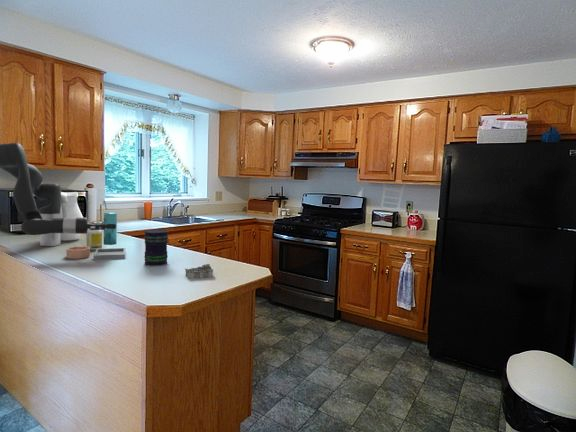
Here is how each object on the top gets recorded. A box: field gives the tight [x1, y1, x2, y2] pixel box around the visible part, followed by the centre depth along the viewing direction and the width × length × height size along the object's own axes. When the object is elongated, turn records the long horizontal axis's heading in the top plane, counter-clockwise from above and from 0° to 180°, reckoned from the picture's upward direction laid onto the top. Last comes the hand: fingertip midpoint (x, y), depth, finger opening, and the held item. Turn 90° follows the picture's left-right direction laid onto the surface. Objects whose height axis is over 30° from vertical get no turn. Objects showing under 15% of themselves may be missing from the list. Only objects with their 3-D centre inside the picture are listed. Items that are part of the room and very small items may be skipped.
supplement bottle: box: [86, 229, 103, 251], centre depth 181 cm, size 7×7×13 cm
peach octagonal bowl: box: [65, 245, 91, 260], centre depth 163 cm, size 9×9×4 cm
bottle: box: [103, 212, 118, 246], centre depth 166 cm, size 6×6×15 cm
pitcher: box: [60, 191, 84, 242], centre depth 200 cm, size 24×17×28 cm
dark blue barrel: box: [143, 229, 169, 267], centre depth 156 cm, size 10×10×15 cm
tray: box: [93, 247, 126, 261], centre depth 168 cm, size 16×13×2 cm
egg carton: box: [184, 263, 214, 279], centre depth 140 cm, size 11×8×4 cm
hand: (116, 225), depth 167 cm, fingers closed on bottle, 5 cm apart
